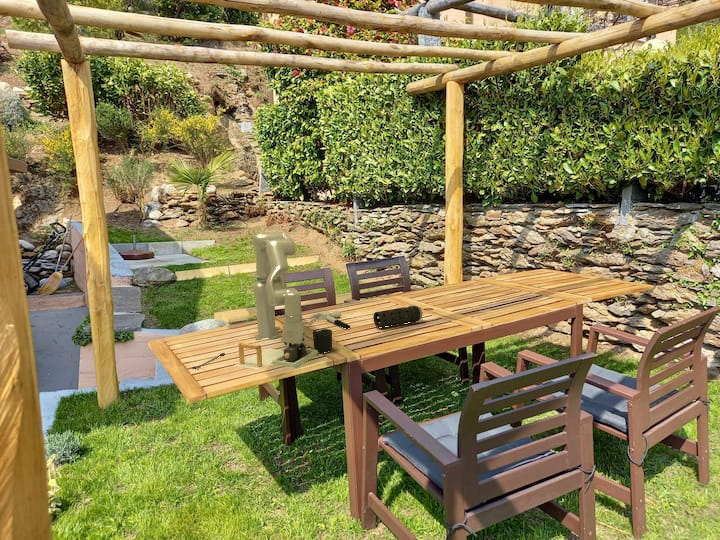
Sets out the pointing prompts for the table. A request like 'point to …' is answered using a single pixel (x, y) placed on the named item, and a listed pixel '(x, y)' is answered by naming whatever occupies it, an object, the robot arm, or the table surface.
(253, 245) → the robot arm
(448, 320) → the table surface
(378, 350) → the table surface
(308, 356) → the tray
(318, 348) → the pen holder
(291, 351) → the dark grey block
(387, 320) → the muzzle brake
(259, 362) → the orange pull handle
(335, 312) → the claw hammer
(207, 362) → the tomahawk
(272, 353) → the board
